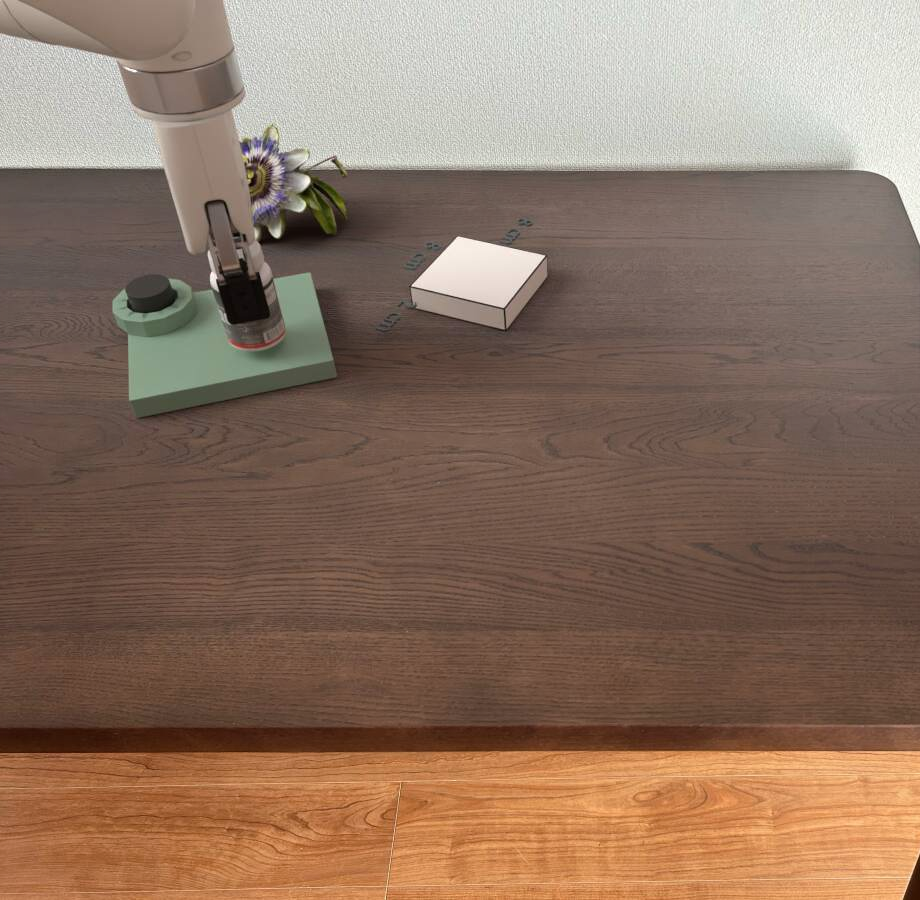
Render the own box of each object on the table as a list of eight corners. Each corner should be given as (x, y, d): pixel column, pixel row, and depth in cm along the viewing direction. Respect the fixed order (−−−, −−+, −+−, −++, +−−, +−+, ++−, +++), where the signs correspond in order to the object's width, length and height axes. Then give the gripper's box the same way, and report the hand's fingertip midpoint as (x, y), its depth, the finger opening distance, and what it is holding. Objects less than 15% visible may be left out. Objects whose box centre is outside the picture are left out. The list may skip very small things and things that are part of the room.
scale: (126, 420, 77) (111, 387, 75) (125, 318, 88) (112, 285, 85) (337, 377, 82) (330, 344, 79) (313, 284, 92) (306, 252, 89)
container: (479, 365, 83) (476, 340, 81) (363, 336, 86) (358, 311, 84) (569, 249, 97) (568, 225, 95) (466, 227, 100) (464, 204, 98)
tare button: (131, 318, 82) (125, 301, 81) (131, 295, 85) (124, 278, 84) (176, 310, 83) (170, 293, 82) (174, 287, 86) (168, 270, 85)
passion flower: (272, 285, 101) (176, 202, 94) (314, 218, 107) (228, 134, 101) (337, 251, 94) (240, 158, 88) (379, 181, 100) (291, 89, 94)
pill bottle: (226, 326, 82) (199, 239, 76) (283, 315, 83) (260, 229, 78) (231, 358, 79) (203, 270, 73) (290, 346, 80) (267, 259, 74)
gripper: (124, 40, 71) (192, 255, 83) (125, 139, 59) (205, 372, 72) (230, 28, 73) (282, 241, 85) (252, 122, 61) (308, 352, 74)
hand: (246, 298), depth 78 cm, fingers closed on pill bottle, 4 cm apart
